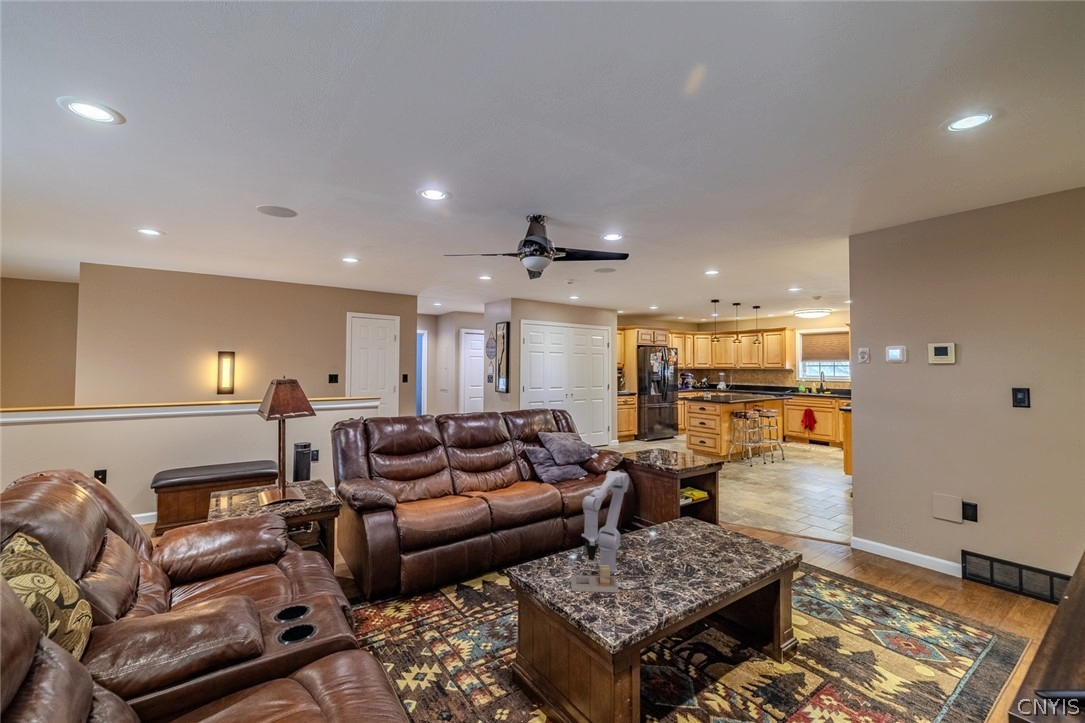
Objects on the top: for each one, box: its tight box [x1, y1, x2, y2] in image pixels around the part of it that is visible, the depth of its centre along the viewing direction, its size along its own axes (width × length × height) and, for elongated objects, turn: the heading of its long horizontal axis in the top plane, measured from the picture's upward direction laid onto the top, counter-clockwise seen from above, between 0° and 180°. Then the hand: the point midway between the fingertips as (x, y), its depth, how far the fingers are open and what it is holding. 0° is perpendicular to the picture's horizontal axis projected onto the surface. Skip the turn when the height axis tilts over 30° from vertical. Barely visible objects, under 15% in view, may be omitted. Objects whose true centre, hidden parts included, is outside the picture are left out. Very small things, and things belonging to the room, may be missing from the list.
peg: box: [598, 565, 611, 584], centre depth 189 cm, size 4×4×8 cm
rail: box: [570, 574, 619, 593], centre depth 189 cm, size 10×19×2 cm, turn 88°
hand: (590, 556), depth 194 cm, fingers open, 7 cm apart
